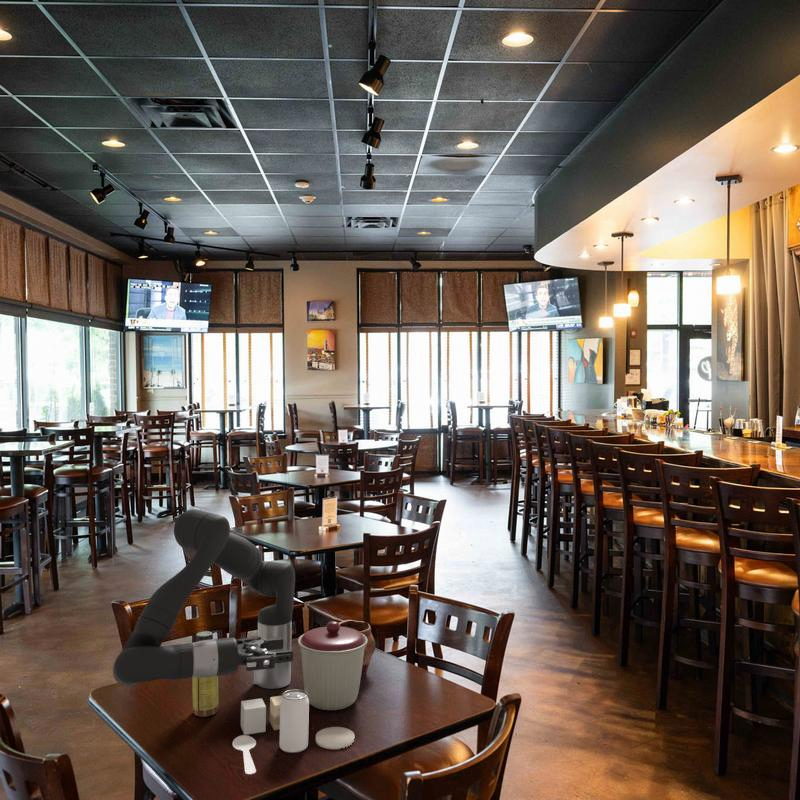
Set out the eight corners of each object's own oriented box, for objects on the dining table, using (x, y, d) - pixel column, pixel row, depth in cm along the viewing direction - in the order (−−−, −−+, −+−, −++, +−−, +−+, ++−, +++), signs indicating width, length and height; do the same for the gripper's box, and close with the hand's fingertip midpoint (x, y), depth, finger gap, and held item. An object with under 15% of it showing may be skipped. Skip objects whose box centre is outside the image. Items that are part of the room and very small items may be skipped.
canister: (282, 702, 190) (283, 621, 190) (332, 682, 204) (334, 607, 204) (330, 724, 179) (332, 638, 178) (380, 702, 192) (382, 621, 192)
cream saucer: (309, 745, 168) (309, 741, 168) (325, 728, 176) (325, 724, 176) (345, 752, 165) (345, 747, 165) (360, 734, 174) (360, 730, 174)
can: (302, 755, 163) (303, 701, 163) (275, 751, 165) (276, 698, 164) (311, 741, 170) (312, 690, 169) (285, 738, 171) (286, 687, 171)
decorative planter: (388, 682, 205) (389, 633, 205) (348, 690, 199) (349, 639, 199) (357, 659, 223) (358, 613, 222) (319, 665, 217) (320, 618, 217)
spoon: (238, 777, 154) (238, 775, 154) (230, 738, 171) (230, 736, 171) (264, 774, 156) (264, 771, 156) (254, 735, 173) (254, 733, 173)
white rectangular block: (244, 735, 172) (244, 709, 172) (240, 725, 177) (241, 701, 177) (265, 731, 174) (266, 706, 174) (261, 722, 179) (261, 698, 179)
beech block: (274, 730, 175) (274, 705, 175) (269, 721, 180) (270, 697, 180) (294, 727, 177) (295, 702, 177) (289, 718, 181) (290, 694, 181)
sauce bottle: (223, 709, 185) (224, 631, 185) (209, 720, 180) (210, 639, 179) (200, 705, 188) (202, 628, 187) (186, 715, 182) (187, 635, 181)
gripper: (219, 650, 150) (296, 642, 157) (208, 630, 163) (280, 623, 170) (218, 687, 150) (295, 677, 157) (207, 664, 163) (279, 655, 170)
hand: (287, 649), depth 163 cm, fingers open, 8 cm apart
